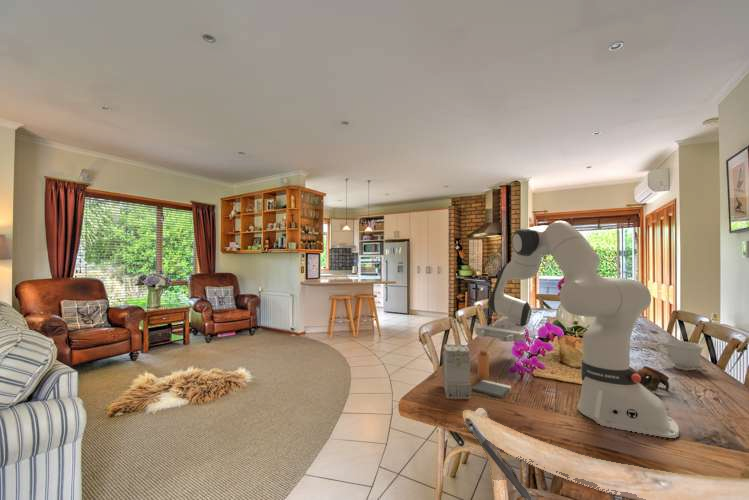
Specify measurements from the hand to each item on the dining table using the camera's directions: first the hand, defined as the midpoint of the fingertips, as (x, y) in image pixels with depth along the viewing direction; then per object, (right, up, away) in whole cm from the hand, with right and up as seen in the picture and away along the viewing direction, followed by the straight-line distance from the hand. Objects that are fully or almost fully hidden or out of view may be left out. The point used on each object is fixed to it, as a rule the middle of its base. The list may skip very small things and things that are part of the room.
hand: (494, 336), depth 133 cm
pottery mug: (+47, -13, -20) cm, 52 cm away
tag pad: (-8, -13, -20) cm, 25 cm away
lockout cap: (-8, -13, -10) cm, 18 cm away
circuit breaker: (-20, -13, -20) cm, 32 cm away
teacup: (+77, -14, +3) cm, 78 cm away
